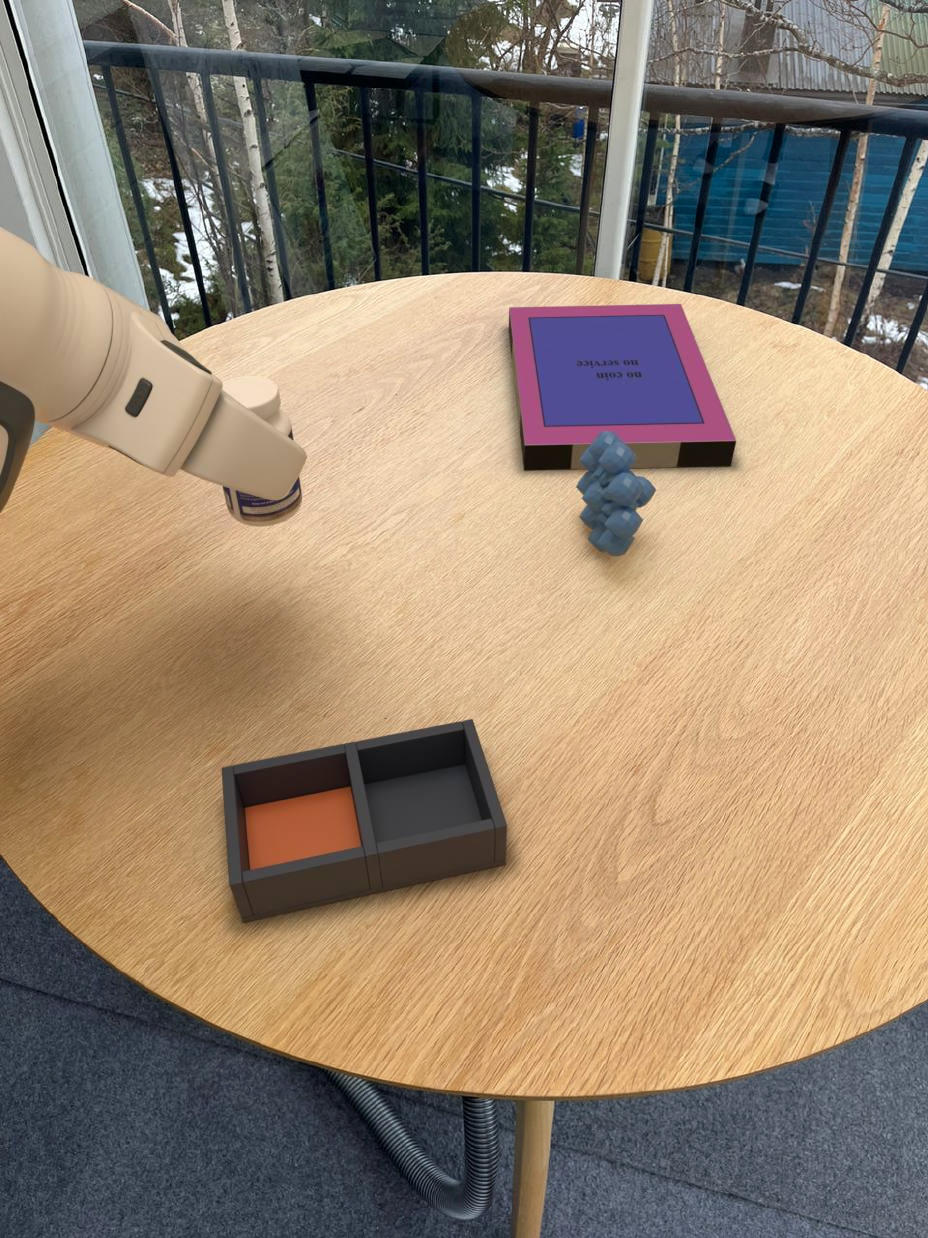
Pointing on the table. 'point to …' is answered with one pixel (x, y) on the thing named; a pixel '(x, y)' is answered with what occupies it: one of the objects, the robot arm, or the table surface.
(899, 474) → the table surface
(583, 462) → the grapes
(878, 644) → the table surface
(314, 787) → the tray
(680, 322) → the book
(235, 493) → the pill bottle
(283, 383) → the table surface
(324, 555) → the table surface
